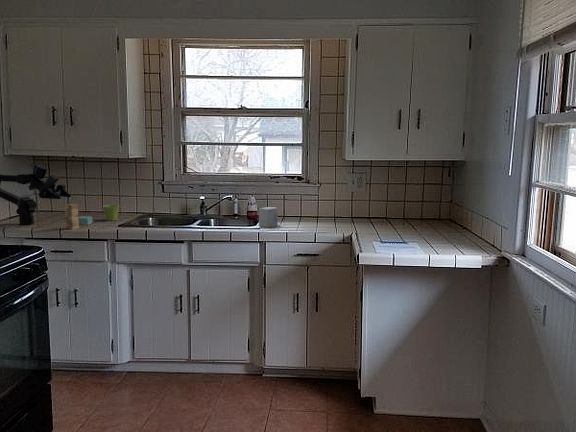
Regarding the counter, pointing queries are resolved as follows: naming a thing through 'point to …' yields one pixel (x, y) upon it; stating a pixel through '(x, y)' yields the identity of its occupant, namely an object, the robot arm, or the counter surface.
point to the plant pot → (111, 212)
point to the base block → (85, 220)
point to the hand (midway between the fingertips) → (65, 197)
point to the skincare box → (268, 216)
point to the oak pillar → (71, 216)
